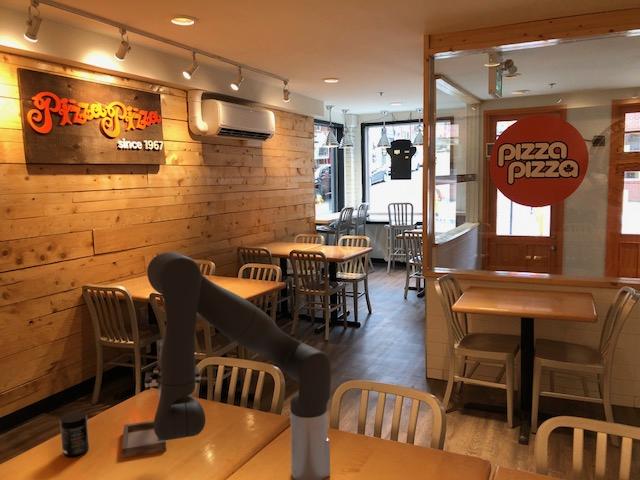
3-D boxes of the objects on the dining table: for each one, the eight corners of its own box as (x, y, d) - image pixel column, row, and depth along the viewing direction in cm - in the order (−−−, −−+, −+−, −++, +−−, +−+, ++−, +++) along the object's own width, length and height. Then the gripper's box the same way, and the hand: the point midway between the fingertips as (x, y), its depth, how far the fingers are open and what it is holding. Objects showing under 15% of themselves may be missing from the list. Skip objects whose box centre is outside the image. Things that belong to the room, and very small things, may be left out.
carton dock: (164, 426, 159) (164, 418, 158) (166, 450, 145) (165, 441, 145) (124, 432, 155) (123, 424, 155) (122, 457, 142) (121, 449, 141)
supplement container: (94, 449, 146) (92, 414, 145) (73, 461, 140) (70, 424, 139) (79, 443, 149) (76, 409, 148) (57, 455, 143) (54, 419, 142)
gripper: (204, 372, 129) (197, 351, 145) (142, 380, 124) (142, 357, 140) (205, 401, 130) (198, 377, 146) (144, 410, 125) (144, 384, 141)
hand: (171, 367), depth 143 cm, fingers closed on coffee box, 6 cm apart
